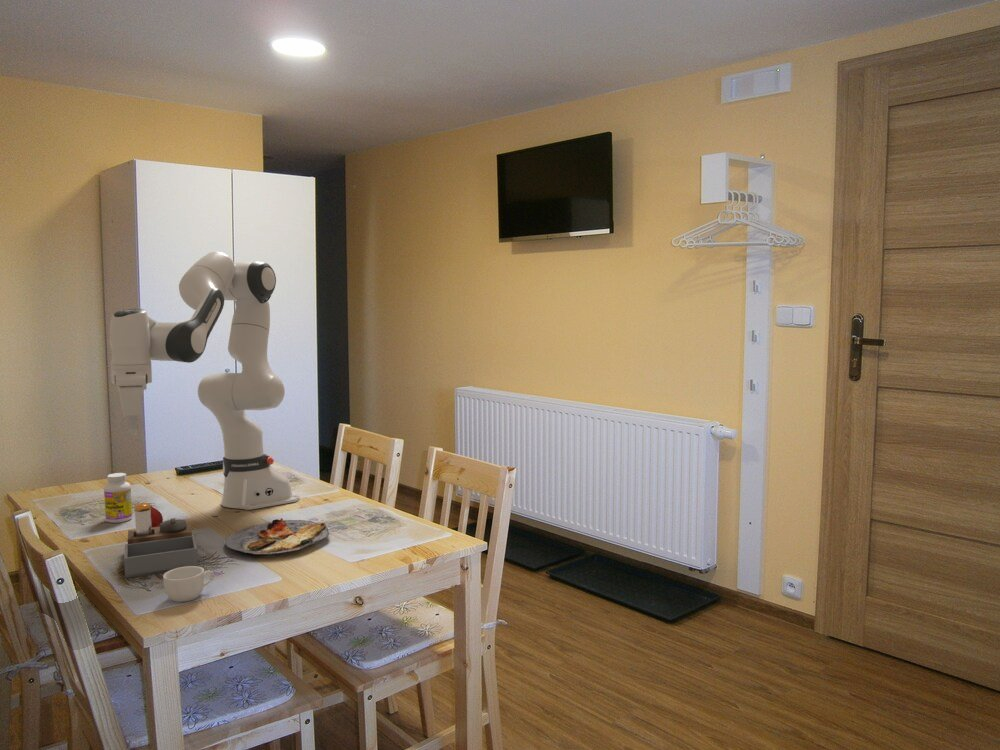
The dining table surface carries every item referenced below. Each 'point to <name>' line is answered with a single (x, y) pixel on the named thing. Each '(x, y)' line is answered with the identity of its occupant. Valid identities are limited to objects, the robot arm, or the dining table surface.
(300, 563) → the dining table surface
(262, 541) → the food plate
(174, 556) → the parts tray
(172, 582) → the teacup
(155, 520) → the red round piece
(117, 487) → the supplement bottle
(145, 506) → the pin
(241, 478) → the robot arm
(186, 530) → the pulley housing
